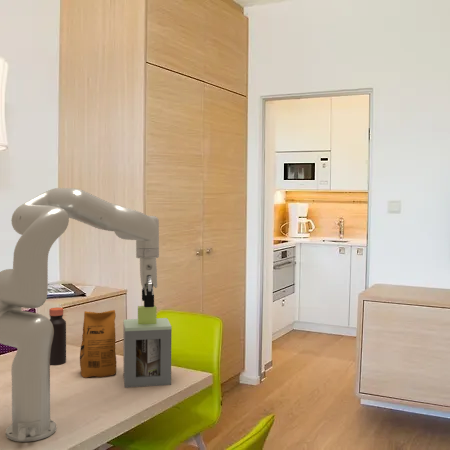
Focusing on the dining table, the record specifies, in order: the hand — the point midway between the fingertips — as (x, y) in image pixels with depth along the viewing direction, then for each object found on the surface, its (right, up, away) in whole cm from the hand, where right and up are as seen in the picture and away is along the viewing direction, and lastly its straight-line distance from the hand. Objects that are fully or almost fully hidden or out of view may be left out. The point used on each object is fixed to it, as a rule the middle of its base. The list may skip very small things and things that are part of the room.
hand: (147, 303), depth 188 cm
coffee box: (-1, -26, +1) cm, 26 cm away
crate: (-1, -26, +1) cm, 26 cm away
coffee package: (-18, -26, +8) cm, 32 cm away
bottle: (-36, -25, +19) cm, 48 cm away
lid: (0, -8, 0) cm, 8 cm away
